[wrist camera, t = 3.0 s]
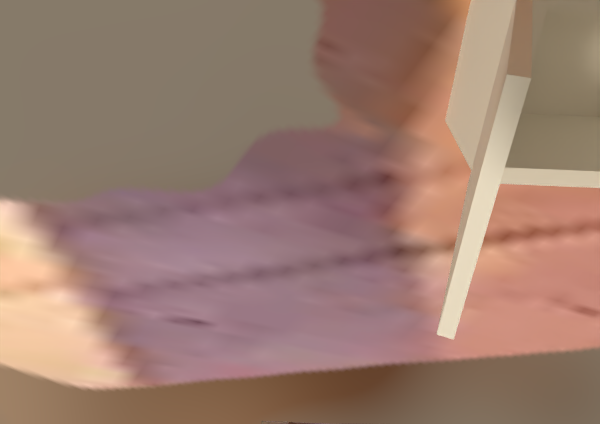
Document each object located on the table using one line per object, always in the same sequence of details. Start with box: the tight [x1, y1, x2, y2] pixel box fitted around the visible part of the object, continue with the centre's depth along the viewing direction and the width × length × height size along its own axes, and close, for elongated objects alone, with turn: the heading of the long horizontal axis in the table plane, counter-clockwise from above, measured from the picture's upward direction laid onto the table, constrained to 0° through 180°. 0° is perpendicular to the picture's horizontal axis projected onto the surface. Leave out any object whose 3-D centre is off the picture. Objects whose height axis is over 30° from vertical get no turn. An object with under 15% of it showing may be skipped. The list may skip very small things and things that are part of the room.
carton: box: [445, 0, 600, 188], centre depth 29 cm, size 12×10×8 cm
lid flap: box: [437, 0, 533, 339], centre depth 21 cm, size 12×10×1 cm
